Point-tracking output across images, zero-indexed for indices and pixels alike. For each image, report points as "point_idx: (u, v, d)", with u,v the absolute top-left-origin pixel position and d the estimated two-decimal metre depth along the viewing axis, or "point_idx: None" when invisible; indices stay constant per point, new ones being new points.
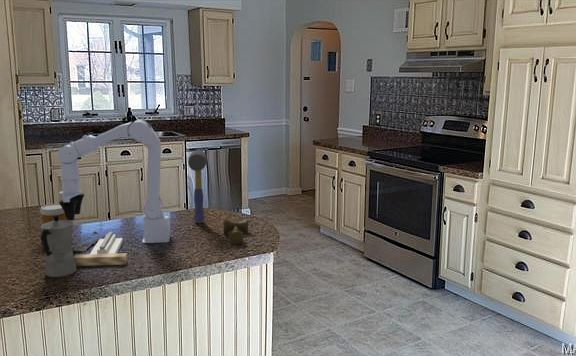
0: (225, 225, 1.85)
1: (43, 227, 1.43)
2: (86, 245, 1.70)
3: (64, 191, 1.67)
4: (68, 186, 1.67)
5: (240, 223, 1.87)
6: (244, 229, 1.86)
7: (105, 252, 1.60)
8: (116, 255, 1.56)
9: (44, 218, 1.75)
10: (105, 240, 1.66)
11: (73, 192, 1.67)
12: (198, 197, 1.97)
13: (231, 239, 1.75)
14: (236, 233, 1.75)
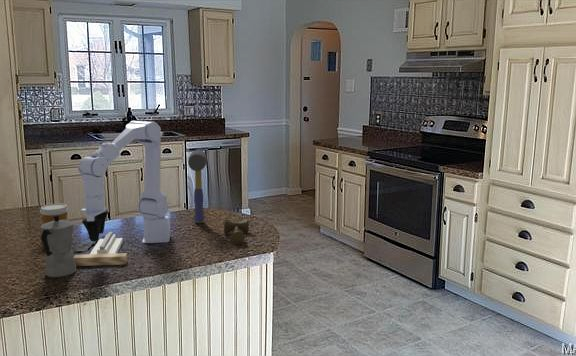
0: (226, 225, 1.84)
1: (43, 227, 1.43)
2: (87, 245, 1.70)
3: (87, 208, 1.49)
4: (91, 203, 1.49)
5: (240, 223, 1.87)
6: (245, 229, 1.86)
7: (105, 252, 1.60)
8: (116, 254, 1.56)
9: (44, 218, 1.75)
10: (105, 240, 1.66)
11: (97, 209, 1.50)
12: (198, 197, 1.97)
13: (232, 239, 1.75)
14: (237, 233, 1.74)
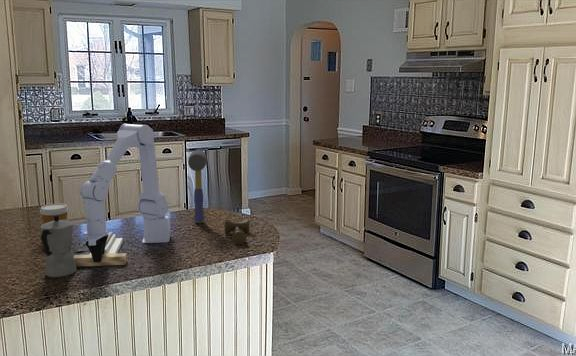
0: (226, 225, 1.84)
1: (43, 227, 1.43)
2: None
3: (89, 232, 1.51)
4: (93, 227, 1.50)
5: (241, 223, 1.87)
6: (245, 229, 1.86)
7: (105, 252, 1.60)
8: (115, 255, 1.56)
9: (44, 218, 1.75)
10: None
11: (99, 233, 1.51)
12: (198, 197, 1.97)
13: (234, 239, 1.75)
14: (239, 233, 1.74)
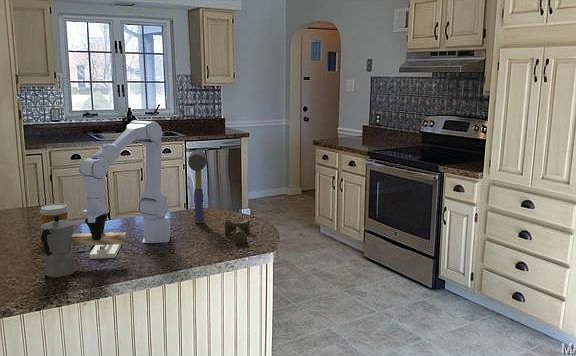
0: (227, 225, 1.84)
1: (43, 227, 1.43)
2: (88, 245, 1.70)
3: (88, 210, 1.50)
4: (92, 205, 1.50)
5: (241, 223, 1.87)
6: (246, 229, 1.86)
7: (105, 252, 1.60)
8: (115, 233, 1.55)
9: (44, 218, 1.75)
10: None
11: (98, 211, 1.51)
12: (198, 197, 1.97)
13: (235, 239, 1.75)
14: (240, 233, 1.74)
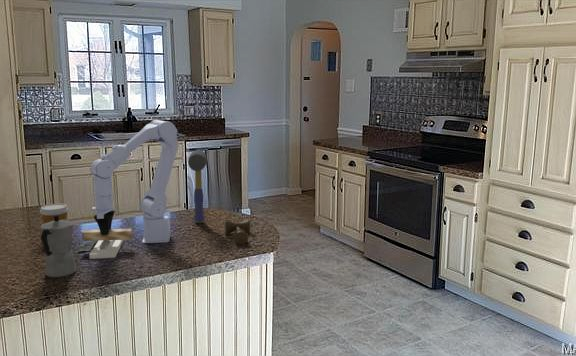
0: (227, 226, 1.84)
1: (43, 227, 1.43)
2: (89, 245, 1.70)
3: (97, 207, 1.62)
4: (101, 202, 1.62)
5: (242, 223, 1.87)
6: (246, 229, 1.86)
7: (105, 252, 1.60)
8: (122, 230, 1.68)
9: (44, 218, 1.75)
10: (105, 240, 1.66)
11: (106, 208, 1.63)
12: (198, 197, 1.97)
13: (236, 239, 1.74)
14: (241, 233, 1.74)
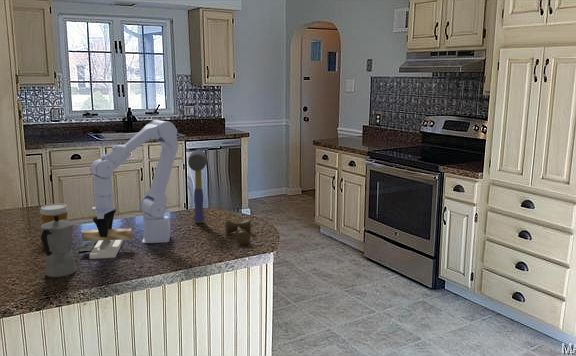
0: (228, 226, 1.84)
1: (43, 227, 1.43)
2: (89, 245, 1.70)
3: (97, 207, 1.62)
4: (101, 202, 1.62)
5: (242, 223, 1.87)
6: (247, 229, 1.86)
7: (105, 252, 1.60)
8: (121, 230, 1.68)
9: (44, 218, 1.75)
10: (105, 240, 1.66)
11: (106, 208, 1.63)
12: (198, 197, 1.97)
13: (238, 239, 1.74)
14: (243, 233, 1.74)
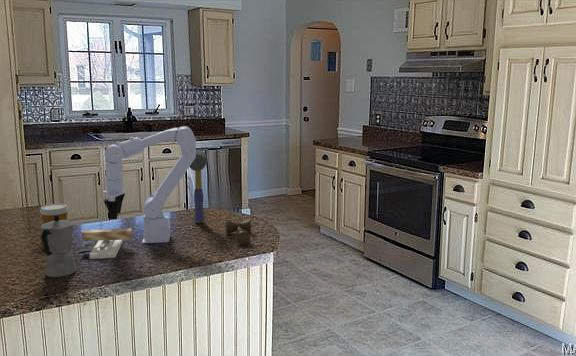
0: (228, 226, 1.84)
1: (43, 227, 1.43)
2: (90, 245, 1.70)
3: (108, 190, 1.70)
4: (112, 186, 1.69)
5: (242, 223, 1.87)
6: (247, 229, 1.86)
7: (105, 252, 1.60)
8: (121, 230, 1.68)
9: (44, 218, 1.75)
10: (105, 240, 1.66)
11: (117, 191, 1.70)
12: (198, 197, 1.97)
13: (238, 240, 1.74)
14: (244, 233, 1.74)
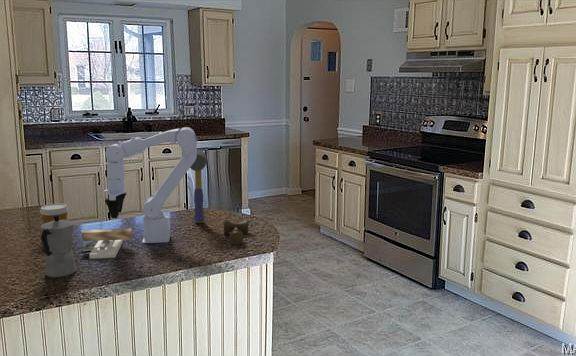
0: (225, 226, 1.84)
1: (43, 227, 1.43)
2: (91, 245, 1.70)
3: (109, 189, 1.71)
4: (113, 185, 1.70)
5: (240, 223, 1.86)
6: (244, 230, 1.85)
7: (105, 252, 1.60)
8: (121, 230, 1.68)
9: (44, 218, 1.75)
10: (105, 240, 1.66)
11: (118, 191, 1.71)
12: (198, 197, 1.97)
13: (231, 240, 1.74)
14: (236, 234, 1.74)
